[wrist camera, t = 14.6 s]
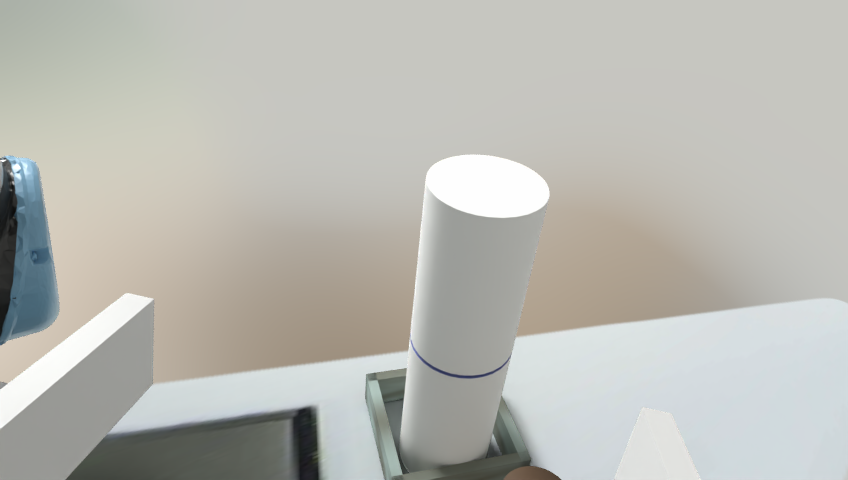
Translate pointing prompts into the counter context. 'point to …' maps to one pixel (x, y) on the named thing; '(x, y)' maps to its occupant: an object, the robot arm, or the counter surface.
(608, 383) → the counter surface
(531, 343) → the counter surface
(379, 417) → the holder stand
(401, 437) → the cylindrical container
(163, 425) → the counter surface
